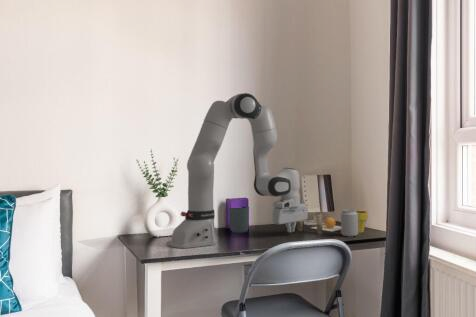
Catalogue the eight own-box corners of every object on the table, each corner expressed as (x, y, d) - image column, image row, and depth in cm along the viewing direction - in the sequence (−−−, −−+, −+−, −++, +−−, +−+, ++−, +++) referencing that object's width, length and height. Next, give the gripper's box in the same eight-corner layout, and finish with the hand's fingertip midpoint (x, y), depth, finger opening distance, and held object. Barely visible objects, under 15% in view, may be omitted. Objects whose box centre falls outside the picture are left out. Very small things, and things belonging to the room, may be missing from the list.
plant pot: (370, 233, 221) (370, 212, 221) (348, 233, 221) (348, 213, 221) (365, 229, 231) (364, 209, 231) (343, 229, 231) (343, 210, 231)
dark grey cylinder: (231, 233, 228) (230, 208, 227) (227, 229, 238) (227, 206, 237) (251, 232, 230) (251, 207, 230) (246, 228, 240) (246, 205, 239)
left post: (300, 230, 231) (300, 212, 230) (296, 230, 233) (296, 212, 232) (303, 230, 232) (303, 212, 232) (299, 229, 234) (299, 211, 234)
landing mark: (331, 231, 227) (331, 231, 227) (309, 228, 238) (309, 227, 238) (349, 228, 236) (349, 227, 236) (327, 224, 247) (327, 224, 247)
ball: (338, 227, 236) (331, 229, 233) (329, 226, 241) (322, 228, 237) (337, 217, 236) (330, 218, 233) (328, 216, 240) (321, 217, 237)
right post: (319, 234, 221) (319, 215, 221) (315, 233, 223) (315, 214, 223) (323, 233, 222) (323, 214, 222) (319, 232, 224) (319, 214, 224)
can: (358, 237, 212) (358, 210, 211) (341, 237, 213) (341, 210, 213) (357, 234, 219) (357, 208, 219) (341, 234, 220) (340, 208, 220)
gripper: (300, 200, 228) (301, 228, 228) (270, 203, 215) (270, 233, 215) (310, 201, 223) (310, 229, 223) (279, 204, 210) (280, 235, 210)
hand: (290, 231), depth 219 cm, fingers closed
